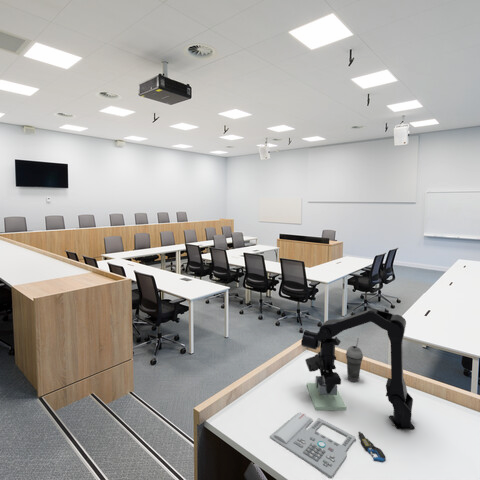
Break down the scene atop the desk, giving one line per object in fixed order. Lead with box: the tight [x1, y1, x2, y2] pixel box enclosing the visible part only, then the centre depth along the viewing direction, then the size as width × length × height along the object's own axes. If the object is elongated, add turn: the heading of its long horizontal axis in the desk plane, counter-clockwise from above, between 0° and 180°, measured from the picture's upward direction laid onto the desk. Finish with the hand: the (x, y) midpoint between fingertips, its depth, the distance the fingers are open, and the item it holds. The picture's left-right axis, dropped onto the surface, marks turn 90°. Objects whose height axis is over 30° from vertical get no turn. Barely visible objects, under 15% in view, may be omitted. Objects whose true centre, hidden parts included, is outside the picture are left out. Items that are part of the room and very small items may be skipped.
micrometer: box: [358, 431, 387, 463], centre depth 106 cm, size 12×2×5 cm
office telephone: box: [269, 412, 357, 479], centre depth 109 cm, size 23×3×20 cm
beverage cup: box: [345, 338, 364, 383], centre depth 143 cm, size 7×7×20 cm
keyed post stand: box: [306, 382, 347, 411], centre depth 131 cm, size 16×12×5 cm
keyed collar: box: [314, 375, 338, 395], centre depth 131 cm, size 7×7×4 cm
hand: (325, 387), depth 131 cm, fingers closed on keyed collar, 7 cm apart
